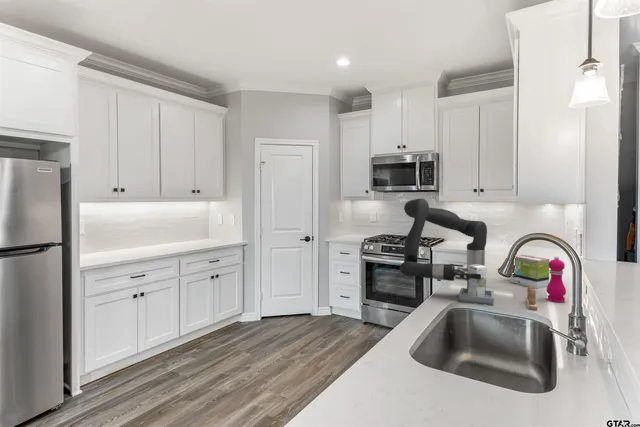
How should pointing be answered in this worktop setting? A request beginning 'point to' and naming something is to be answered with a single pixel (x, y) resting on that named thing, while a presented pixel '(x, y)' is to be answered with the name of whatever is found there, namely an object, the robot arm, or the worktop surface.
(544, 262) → the tea box
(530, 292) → the bench stop
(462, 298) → the tray
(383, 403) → the worktop surface
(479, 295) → the syrup box
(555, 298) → the pepper mill
